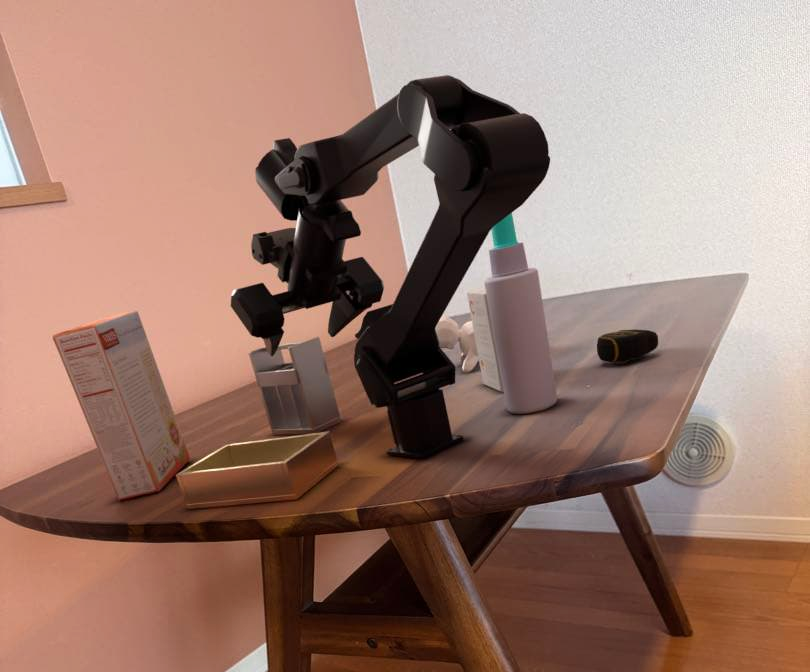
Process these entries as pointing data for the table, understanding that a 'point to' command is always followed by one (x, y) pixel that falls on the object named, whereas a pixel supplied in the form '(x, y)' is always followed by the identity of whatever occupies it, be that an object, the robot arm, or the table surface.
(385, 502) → the table surface
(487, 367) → the small box
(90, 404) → the cracker box
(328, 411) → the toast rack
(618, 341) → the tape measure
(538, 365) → the spray bottle
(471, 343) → the beige lumpy shape
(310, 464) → the copper metal tray
